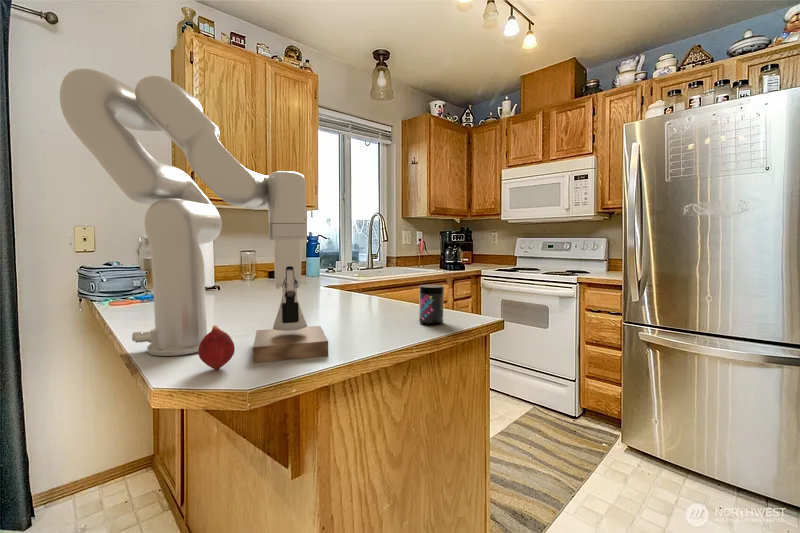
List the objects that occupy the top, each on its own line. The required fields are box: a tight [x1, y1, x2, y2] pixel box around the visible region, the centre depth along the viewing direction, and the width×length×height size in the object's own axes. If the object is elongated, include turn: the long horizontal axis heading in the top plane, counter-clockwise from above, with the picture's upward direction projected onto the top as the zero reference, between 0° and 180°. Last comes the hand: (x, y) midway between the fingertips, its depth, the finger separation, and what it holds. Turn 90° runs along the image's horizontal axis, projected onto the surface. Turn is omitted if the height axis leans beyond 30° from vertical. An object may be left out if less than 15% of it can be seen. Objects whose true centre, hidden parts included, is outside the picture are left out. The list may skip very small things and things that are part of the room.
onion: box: [197, 324, 236, 371], centre depth 69 cm, size 6×6×8 cm
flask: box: [272, 285, 308, 331], centre depth 81 cm, size 7×7×10 cm
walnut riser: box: [252, 325, 329, 364], centre depth 82 cm, size 14×14×3 cm
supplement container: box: [418, 284, 445, 327], centre depth 106 cm, size 7×7×10 cm
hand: (290, 318), depth 81 cm, fingers closed on flask, 4 cm apart
